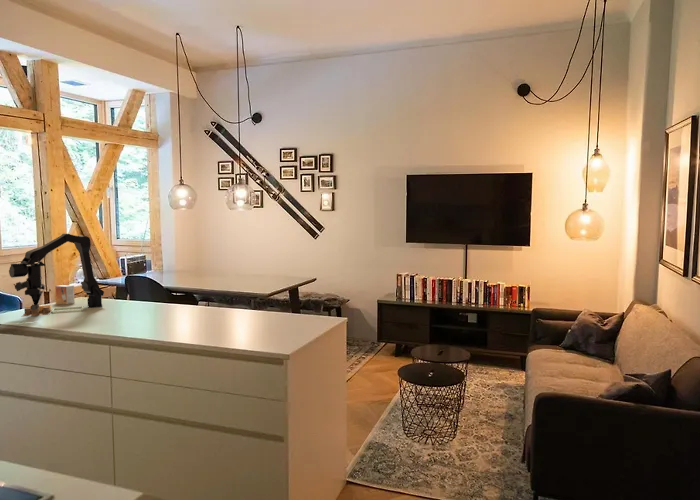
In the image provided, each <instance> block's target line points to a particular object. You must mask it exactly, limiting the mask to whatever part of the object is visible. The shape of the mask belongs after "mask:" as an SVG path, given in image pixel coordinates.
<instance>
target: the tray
mask: <svg viewBox="0 0 700 500" xmlns="http://www.w3.org/2000/svg"><path fill="white" fill-rule="evenodd" d="M84 308H85V307H84V306H83V305H82V306H68V307H53V309H51V310H52V311H51V313H50V314H64V313H75V312H77V313H79V312H83V310H84Z"/></svg>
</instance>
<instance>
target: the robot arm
mask: <svg viewBox="0 0 700 500" xmlns="http://www.w3.org/2000/svg"><path fill="white" fill-rule="evenodd" d="M66 243H72V244H74V246H75V248H76V250H77V252H78V254H79V256H80V257H79V258H80V263H81V269H82V273H83V280H82V281H80V284H81V289H82V290H83V292H84V293H85V294H86V295H87V296H88V298H87V307H88V308H101V307H103V303H102V302H103V300H102V299H103V298H102V296H104V294H105V291H104V290H103V289H101V288H100V285H99V283H98V280H97V279H96V278H95V276H94V275H95V274H94V271H93V265H92V261H91V254H90V249H91V238H90V237H89V236H87V235H74V234H71V233H62V234H61V235H60V236H57V237H56V238H54V239H53V240H51V241H49V242H47V243H45V244H43V245H42V246H40V247H34V248H32V249H29V250H27V251H26V252H25V255H24V257H23V259H22V260H21V262H20V263H19V262H17V263H10V266H9V270H8V275H9V277H10V278H21V277H22V278H23V277H26V276H27V278H26V279H25V280H24V281H22V282H21V281H19V282H16V283H15V285H14V289H15V290H16V291H17V292H19V291H21V290H24V289H25V290H24V295H25V296H30V298H31V300H32V303H33V305H39V302H40V300H41V297H42V295H43V292H44V290H45V289H46V286H45V284H44V283H42V279H43V276H42V267H45V266H46V264H45V263H44V262H43V261H42V260H43V259H45V257H46V256H47V255H48V254H49V253H51V252H53V251H54V250H56V249H58V248H59V247H61V246H62V245H65V244H66Z"/></svg>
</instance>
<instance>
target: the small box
mask: <svg viewBox="0 0 700 500" xmlns="http://www.w3.org/2000/svg"><path fill="white" fill-rule="evenodd" d="M54 287H55V304H56V305H70V304H75V303H76V302H75V285H72V284H71V285H69V284H67V285H65V284H60V285H56V286H54Z"/></svg>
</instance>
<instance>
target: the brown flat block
mask: <svg viewBox="0 0 700 500" xmlns="http://www.w3.org/2000/svg"><path fill="white" fill-rule="evenodd" d="M49 305H50V306H51V304H49ZM51 307H52V306H51ZM52 310H53V309H51V311H52ZM51 311H50V312H49V307H43V312H40V313H39V308H38V309H36V310H32V313H31V308H25V307H24V313H23V315H22V316H21V317H33V316H37V317H38V316H49V315H50V314H52V313H51Z"/></svg>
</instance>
